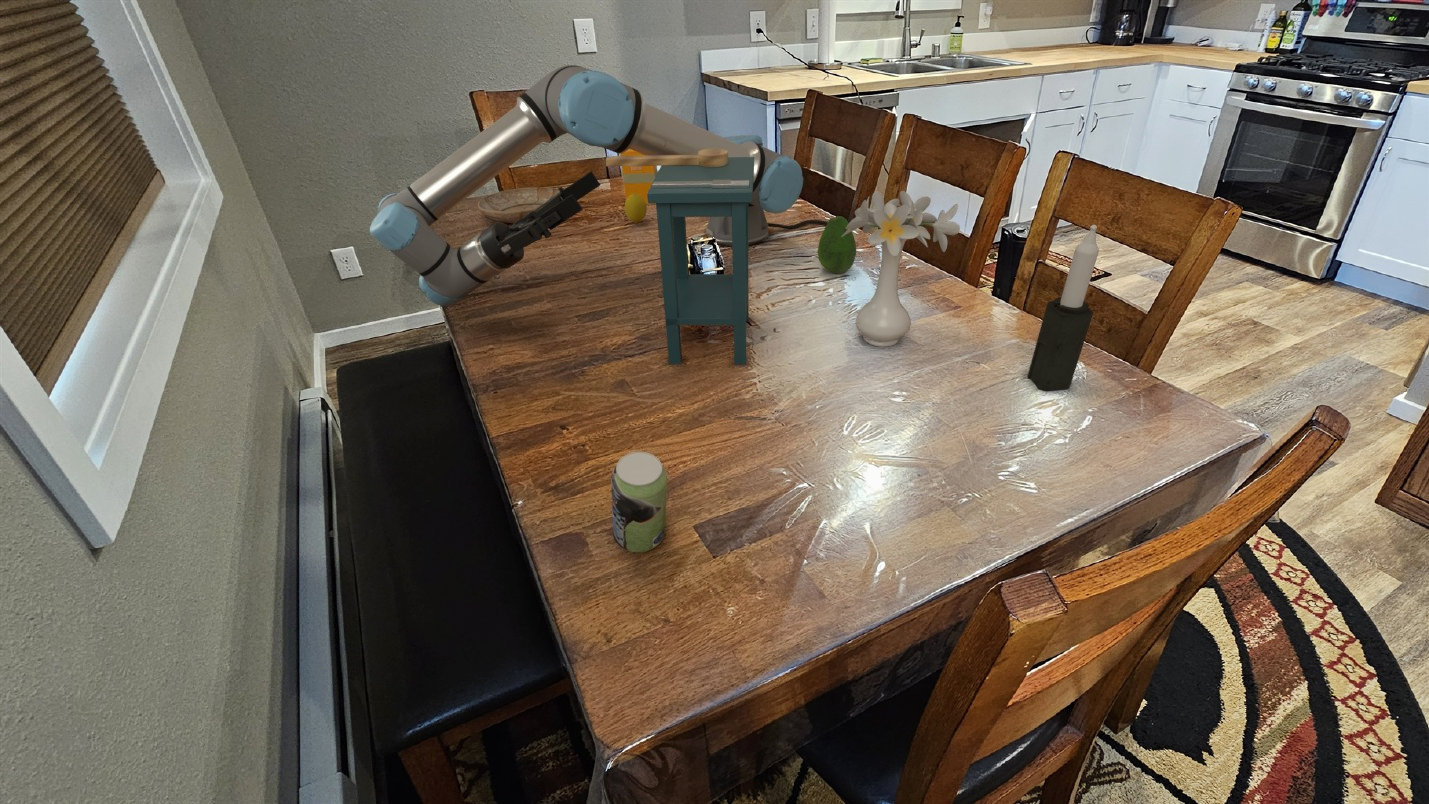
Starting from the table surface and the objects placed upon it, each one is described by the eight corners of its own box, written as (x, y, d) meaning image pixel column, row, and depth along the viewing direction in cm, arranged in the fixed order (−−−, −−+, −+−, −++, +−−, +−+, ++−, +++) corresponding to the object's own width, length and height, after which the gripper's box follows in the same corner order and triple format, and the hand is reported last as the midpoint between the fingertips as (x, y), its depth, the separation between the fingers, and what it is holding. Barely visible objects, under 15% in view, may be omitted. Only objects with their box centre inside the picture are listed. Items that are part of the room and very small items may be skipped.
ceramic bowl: (586, 210, 183) (583, 191, 180) (524, 236, 166) (520, 216, 163) (526, 198, 193) (523, 181, 190) (462, 222, 177) (458, 204, 174)
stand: (662, 367, 110) (647, 193, 94) (676, 314, 127) (664, 158, 110) (752, 368, 109) (752, 191, 93) (754, 314, 125) (754, 156, 109)
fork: (652, 189, 95) (651, 185, 95) (654, 184, 97) (654, 180, 97) (748, 188, 94) (748, 184, 94) (749, 183, 96) (749, 179, 96)
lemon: (644, 227, 169) (641, 196, 164) (623, 227, 170) (620, 195, 165) (650, 220, 173) (647, 190, 169) (630, 220, 174) (627, 189, 170)
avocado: (831, 262, 146) (835, 208, 139) (861, 271, 141) (866, 216, 134) (808, 273, 141) (811, 218, 134) (838, 282, 136) (843, 226, 130)
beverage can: (636, 513, 81) (626, 435, 74) (684, 536, 77) (678, 457, 71) (602, 544, 77) (587, 465, 70) (650, 571, 73) (640, 490, 66)
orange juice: (657, 204, 185) (650, 128, 174) (625, 205, 185) (617, 129, 174) (659, 195, 191) (653, 122, 180) (629, 196, 192) (621, 123, 181)
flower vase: (949, 344, 114) (977, 199, 100) (855, 364, 109) (870, 215, 95) (907, 313, 124) (927, 177, 110) (819, 330, 119) (828, 191, 105)
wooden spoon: (604, 169, 106) (603, 157, 105) (610, 161, 110) (608, 150, 109) (727, 167, 104) (726, 155, 103) (728, 159, 108) (728, 148, 107)
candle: (1024, 374, 105) (1066, 219, 91) (1055, 372, 105) (1101, 217, 91) (1040, 391, 100) (1086, 232, 87) (1072, 389, 101) (1124, 230, 87)
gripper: (528, 243, 130) (614, 187, 122) (483, 297, 109) (583, 234, 102) (503, 211, 126) (589, 151, 119) (451, 260, 106) (552, 192, 98)
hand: (586, 189), depth 110 cm, fingers open, 13 cm apart
